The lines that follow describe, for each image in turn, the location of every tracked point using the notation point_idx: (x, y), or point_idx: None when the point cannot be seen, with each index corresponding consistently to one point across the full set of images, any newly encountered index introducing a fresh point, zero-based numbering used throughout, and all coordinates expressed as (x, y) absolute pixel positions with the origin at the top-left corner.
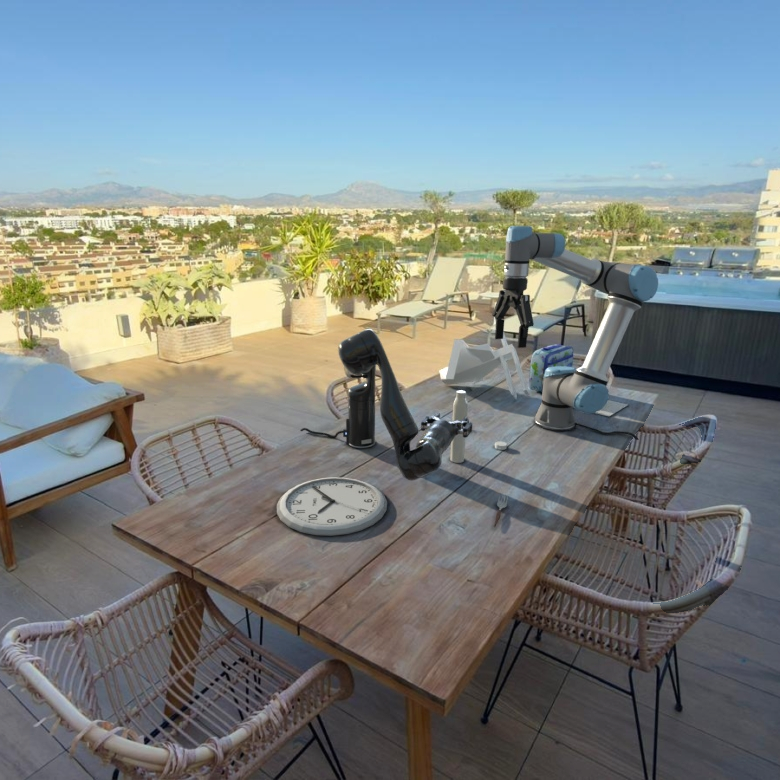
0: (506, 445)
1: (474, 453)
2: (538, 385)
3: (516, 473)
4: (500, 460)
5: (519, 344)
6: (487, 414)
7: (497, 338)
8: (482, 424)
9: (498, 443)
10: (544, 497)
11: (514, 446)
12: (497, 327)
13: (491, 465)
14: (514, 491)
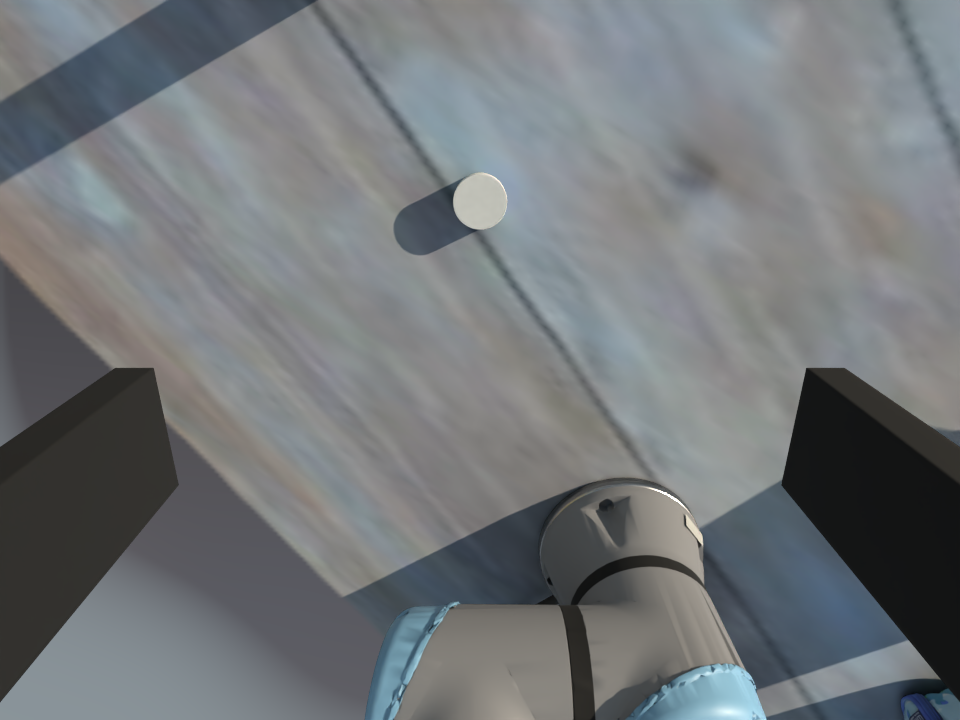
0: (458, 218)
1: (459, 38)
2: (954, 706)
3: (222, 116)
4: (356, 121)
5: (85, 399)
6: (846, 356)
7: (806, 398)
8: (751, 267)
9: (484, 191)
10: (6, 102)
11: (473, 266)
12: (950, 495)
13: (318, 48)
14: (64, 5)
